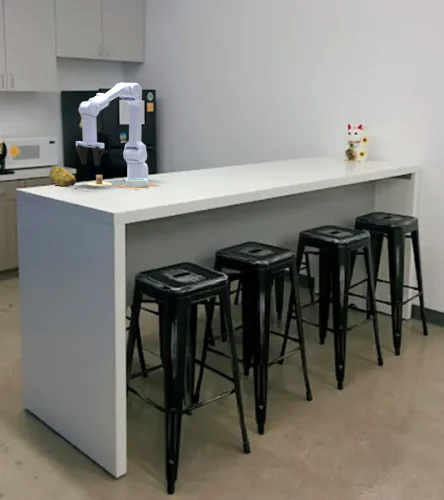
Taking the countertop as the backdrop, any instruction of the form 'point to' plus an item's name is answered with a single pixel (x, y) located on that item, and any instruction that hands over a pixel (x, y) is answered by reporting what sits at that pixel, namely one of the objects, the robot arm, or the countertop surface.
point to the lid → (99, 182)
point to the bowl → (136, 182)
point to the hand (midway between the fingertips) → (90, 164)
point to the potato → (62, 177)
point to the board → (136, 188)
